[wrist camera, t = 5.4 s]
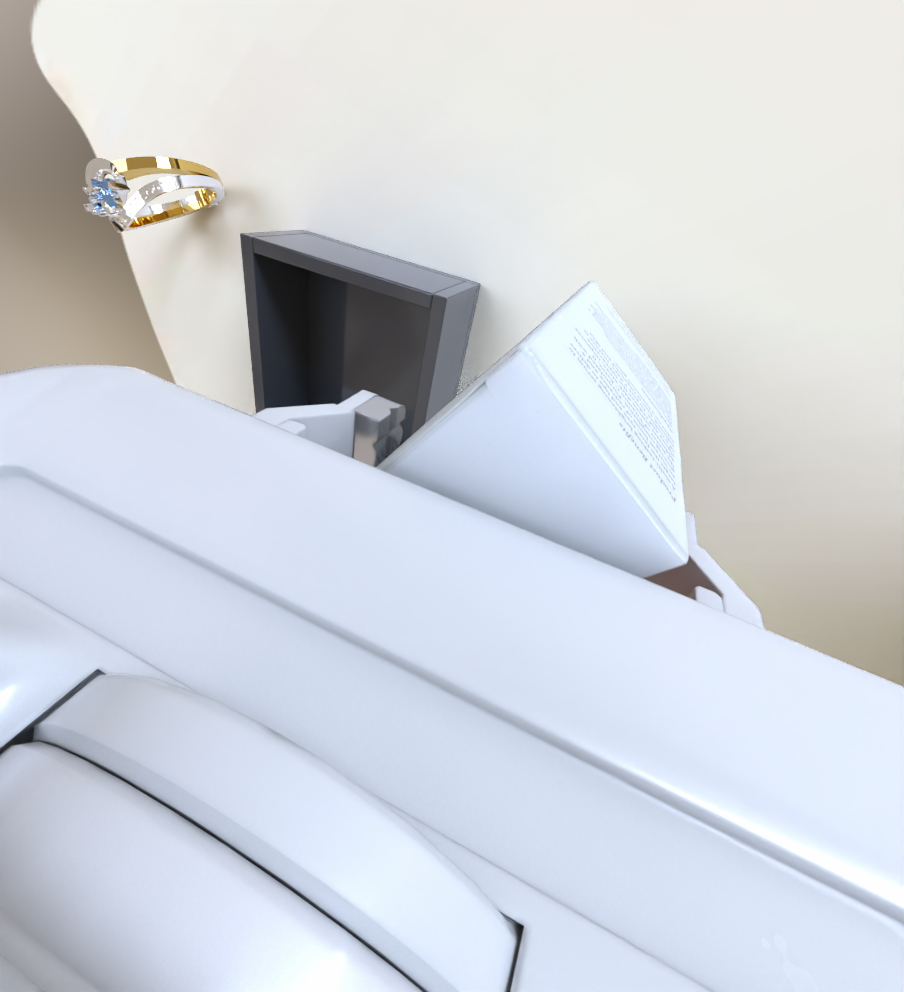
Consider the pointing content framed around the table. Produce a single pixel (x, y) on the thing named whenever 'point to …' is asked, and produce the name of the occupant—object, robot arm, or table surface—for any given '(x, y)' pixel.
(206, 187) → the ring
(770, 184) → the table surface
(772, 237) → the table surface
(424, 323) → the basin
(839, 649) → the table surface
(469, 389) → the small box
